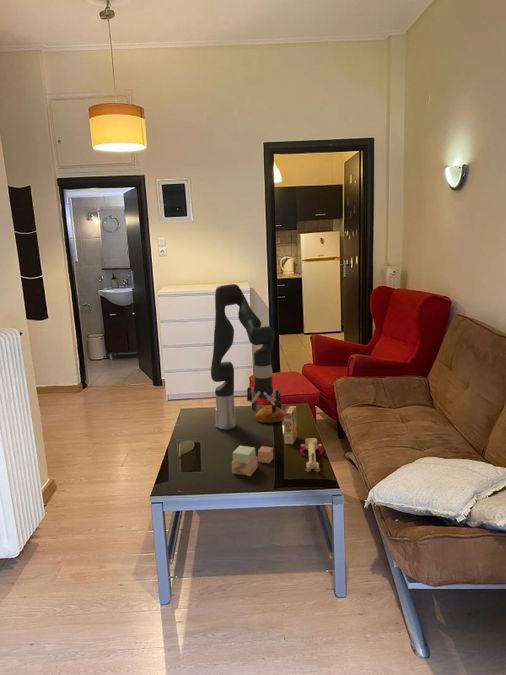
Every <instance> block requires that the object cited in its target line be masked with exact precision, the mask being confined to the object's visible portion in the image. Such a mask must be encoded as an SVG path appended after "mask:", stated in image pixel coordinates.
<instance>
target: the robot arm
mask: <svg viewBox="0 0 506 675" xmlns="http://www.w3.org/2000/svg"><path fill="white" fill-rule="evenodd" d="M214 301H215V302H214V305H215V308H214V309H215V312H214V313H215V314H214V315H215V317H214V318H215V320H214V331H213V332H214V333H213V353H212V360H211V365H210V366H211V367H210V377H211V379H212V381H213V382H214V383H219V382H220V383H221V382H223V383H221V385H218V386H217V387H215V390H214V391H215V392H214V394H215V408H214V421H215V422H214V425H215V428H218V429H219V430H231V429H234V428H235V427H236V410H235V369H234V365H233V363H232V362H231V361H222V360H223V358H224V357H225V355H226V354H227V352H228V351H229V350H230V349H231V347H232V345H233V343H234V336H235V329H234V326H233V324H232V323H231V321H230V320H229V317H227V315H226V307H228V306H233V305H237V306H238V307H239V309H238V316H237V317H238V320H239V323H241V325H242V327H243V328H244V330H245V331H246V333H247V337H248V340H249V342H250V344H252V345H253V346H261V347H260V348H257V349H256V350H255V351H254V353H253V382H254V387H253V386H252V385H250V386H249V387H247V388H246V391H247V394H246V400H247V401H248V402H250V403H251V410H252V411H253V412H256V411H257V409H258V408H257V399H261V400H262V399H264V400H268V401H269V402H270V403H271V406H272V413H273V414H274V413H275V412H276V411H277V407H278V406H277V405H280V404H281V402H282V394H281V389H280V388H277V389H275V388H273V367H272V351H273V347H274V343H275V338H276V335H275V331H274V328H273V327H271V326H267V325H266V326H262V322H261V319H260V318H259V317H258V316H257V315H256V313H255V312H254V311H253V309H252V308H251V306H250V304H249V302H248V301H247V298H246V296H245V294H244V293H243V291H242V289H241V288H240V286H239V285H238V284H235V283H230V284H224V285H223V284H222V285H218V286H217V287H216V289H215V294H214ZM261 326H262V327H261ZM253 392H254V393H255V395H254V396H253ZM273 393H274V394H273ZM274 395H275V396H274Z"/></svg>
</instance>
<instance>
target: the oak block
mask: <svg viewBox="0 0 506 675" xmlns="http://www.w3.org/2000/svg"><path fill="white" fill-rule="evenodd" d="M257 469H258V455H257V456H256V455H255V458H254V459H253V460H252V461H251V462H250V464H245V463H238V462H233V460H232V461H231V473H232V474H235V475H241V476H246V475H247V477H251V476H252V475H253V474H254V472H255V471H256V470H257Z"/></svg>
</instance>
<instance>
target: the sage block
mask: <svg viewBox="0 0 506 675" xmlns="http://www.w3.org/2000/svg"><path fill="white" fill-rule="evenodd" d="M255 456H256V447H253V446H252V447H251V446H246V445H245V446H244V445H238V447H236V449H235V450H234V451H233V452H232V461H233V462H238V463H245V464H250V462H251V461H252V460H253V459H254V458H255Z"/></svg>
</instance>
